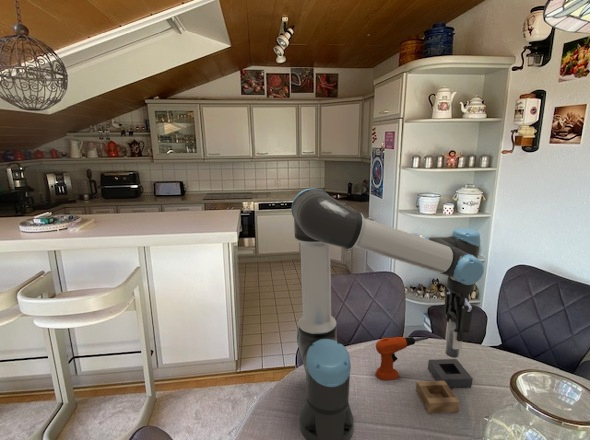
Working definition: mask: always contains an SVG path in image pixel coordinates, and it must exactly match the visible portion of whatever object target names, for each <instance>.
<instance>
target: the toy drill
mask: <svg viewBox="0 0 590 440" xmlns="http://www.w3.org/2000/svg"><path fill="white" fill-rule="evenodd" d="M428 339H429V337H428V336H422V337H413V336H409V337H405V336H396V337H383V338H381V339H378V341H377V342H376V343H375V350H376V351H377V353H378V354H380V361H381V362H380V365H379V367H378V368H376V371H375V376H376V378H377V379H379V380H381V381H394V380H398V378H399V377H400V374H399V371H398V370H397V369H396V368H394V363H395V362H396V361H397V360H398V357H397V356H396V354H395V353H397V352H400V351H402V350H405V349H407V347H409V346H413V345H415V344H416V342H421V341H425V340H426V341H427V340H428Z"/></svg>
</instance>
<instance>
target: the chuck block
mask: <svg viewBox="0 0 590 440" xmlns="http://www.w3.org/2000/svg"><path fill="white" fill-rule="evenodd" d="M427 362H428V363H427V370H428V371H429V372H430V374H431V376H432V377H433V379H434V381H445V382H446V383H447V385H448V386H449V388H450V389H451V390H453V389H472V387H473V380H474V379H473V377H472V375H470V373H469V372H468V371H467V369H466V368H465V367H464V366H463V364H461V363H460V361H459V360H458V359H457V358H444V359H443V358H442V359H440V358H439V359H428V361H427Z"/></svg>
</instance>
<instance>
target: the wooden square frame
mask: <svg viewBox="0 0 590 440" xmlns="http://www.w3.org/2000/svg"><path fill="white" fill-rule="evenodd" d="M415 389H416V390H415V392H416V394H417V395H418V397H419V399H420V401H421V403H422V405H423V407H424V408H425V410H426V412H427V413H428V414H439V413H441V414H442V413H444V414H445V413H458V412H459V408H460V400H459V399H458V397H457V396H456V395H455V393H454V392H453V390H452V389H450V388H449V386H448V385H447V383H446V382H445V381H436V380H427V381H425V380H424V381H416V388H415Z"/></svg>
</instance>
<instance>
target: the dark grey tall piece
mask: <svg viewBox="0 0 590 440" xmlns="http://www.w3.org/2000/svg"><path fill="white" fill-rule="evenodd" d="M444 318H445V319H446V318H447V319H449V327H448V335H447V341H446V345H445V354H446V356H448V357H449V358H452V359H457V358H458V357H459V356H460V350H461V349H453V348H452V345H453V337H454V330H455V329H456V310H450V311H449V313H448V312H447V313H445V317H444Z"/></svg>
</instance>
